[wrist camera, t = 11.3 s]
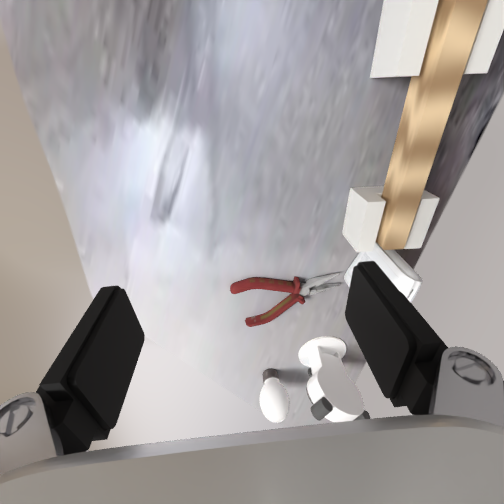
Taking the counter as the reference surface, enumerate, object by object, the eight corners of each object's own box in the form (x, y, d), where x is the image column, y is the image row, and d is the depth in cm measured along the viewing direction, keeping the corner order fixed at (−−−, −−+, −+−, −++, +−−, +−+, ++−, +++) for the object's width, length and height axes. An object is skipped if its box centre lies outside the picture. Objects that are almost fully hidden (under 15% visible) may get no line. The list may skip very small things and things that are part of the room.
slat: (431, -5, 26) (461, -18, 23) (460, -6, 26) (494, -19, 23) (371, 236, 41) (384, 250, 38) (389, 235, 41) (403, 248, 38)
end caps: (385, -12, 28) (420, -33, 23) (474, -14, 28) (527, -35, 23) (342, 233, 44) (356, 252, 39) (399, 229, 45) (420, 248, 39)
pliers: (340, 296, 53) (345, 305, 50) (246, 321, 55) (247, 330, 52) (333, 250, 47) (338, 258, 44) (228, 281, 49) (228, 290, 46)
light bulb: (255, 367, 63) (259, 416, 54) (282, 363, 63) (292, 411, 54) (259, 383, 67) (263, 430, 57) (285, 379, 66) (293, 426, 57)
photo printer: (358, 283, 51) (391, 334, 40) (339, 278, 50) (368, 329, 39) (390, 240, 46) (437, 285, 35) (369, 233, 45) (412, 278, 34)
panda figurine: (287, 359, 62) (301, 429, 49) (314, 330, 57) (338, 399, 44) (326, 370, 66) (349, 438, 53) (355, 343, 61) (388, 411, 48)
